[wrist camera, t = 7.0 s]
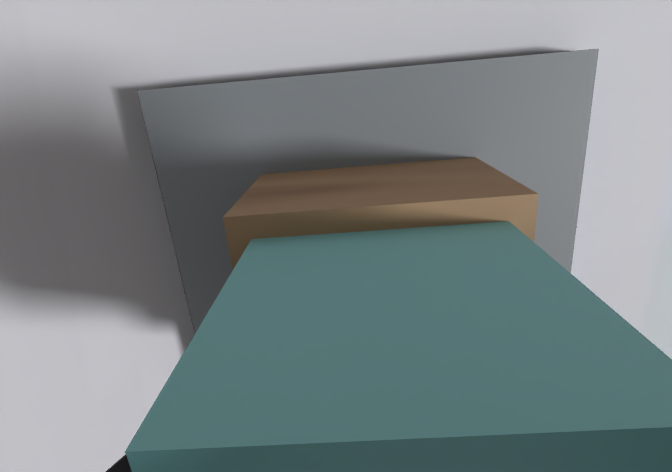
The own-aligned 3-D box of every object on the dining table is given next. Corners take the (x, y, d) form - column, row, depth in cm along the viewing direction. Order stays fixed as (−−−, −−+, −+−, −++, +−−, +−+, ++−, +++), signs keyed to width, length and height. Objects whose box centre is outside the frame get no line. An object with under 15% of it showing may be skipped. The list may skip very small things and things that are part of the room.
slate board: (541, 376, 15) (555, 396, 14) (221, 393, 16) (213, 413, 15) (578, 51, 11) (599, 48, 10) (153, 89, 12) (137, 90, 11)
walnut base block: (468, 340, 14) (516, 438, 10) (287, 350, 14) (266, 450, 10) (475, 157, 11) (538, 193, 8) (261, 174, 12) (223, 217, 8)
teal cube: (495, 423, 10) (637, 746, 5) (283, 433, 10) (228, 750, 5) (508, 221, 8) (746, 423, 3) (251, 239, 8) (125, 451, 3)
